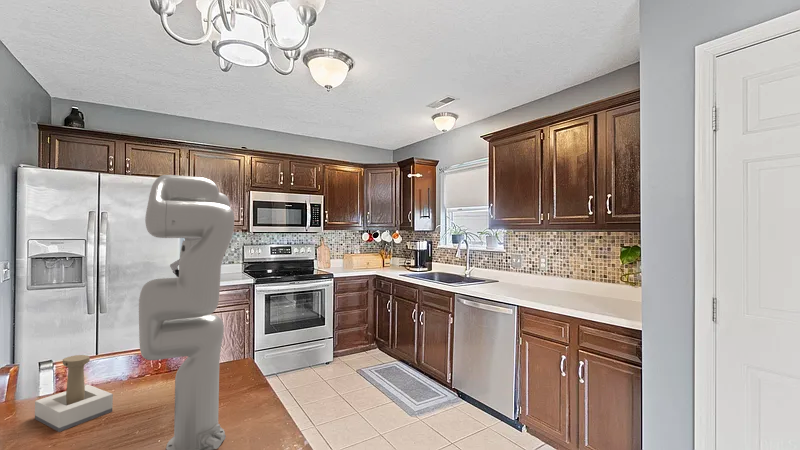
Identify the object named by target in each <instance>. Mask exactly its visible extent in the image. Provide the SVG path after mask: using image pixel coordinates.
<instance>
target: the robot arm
mask: <svg viewBox="0 0 800 450" xmlns="http://www.w3.org/2000/svg"><path fill="white" fill-rule="evenodd" d="M144 220H145V228H146V230H147V232H148V234H149V235H151V236H152V237H155V238H159V239H184V240H182V242H181V246H180V253H179V259H177V260H176V261H174V262H172V263H170V265H169V268H170V269H171V271H172V273H173V275H175V276H176V277H166V278H165V277H163V278H157V279H156V278H155V279H151V280H149V281H147V282H146V283H145V284H144V285H143V286H142V288H141V290H140V293H139V298H138V330H139V331H138V333H139V335H138V337H139V338H138V340H139V341H138V342H139V351H140V354H141V356H142V358H143V359H145V360H147V361H159V360H160V361H161V360H166V359H167V360H168V359H173V358H174V359H175V358H181V357H186V359H185V360H184V361H183V362H182V364H181V365H179V368H178V370H177V371H176V374H175V379H174V380H175V381H174V419H173V421H174V427H173V429H174V430H173V432H174V433H173V437H172V438H170V439H169V440H168V442H167V444H166V446H165V450H217V449H219V447H221V444H222V443H223V441H225V440H226V437H227V436H226V434H225V433H226V432H225V429H224V428H222V426H221V424H220V423H219V408H220V407H219V399H220V397H219V396H220V395H219V394H220V359H221V351H222V345H223V344H222V343H223V339H224V332H225V327H224V326H225V324H224V322H223V319H222V318H221V317H220V316H218V315H216V314H213V313H214V312H215V311H216V310H217V309H218V306H219V301H220V291H221V290H220V289H221V272H222V271H221V270H222V262H223V259H224V257H225V254H226V252H227V251H228V248H229V245H230V244H231V242H232V241H231V240H232V237H233V234H234V230H235V213H234V211H233V209H232V208H231V203H230V199H229V197H228V196H227V194H224V193H223V192H220V190H219V188H218V185H217V184H216V183H215V182H214V181H212V180H211V179H208V178H206V177H201V176H191V175H178V174H177V175H175V174H163V175H160V176H158V177H157V178H156V179H155V180H154V182H153V183H152V186H151V188H150V192H149V195H148V201H147V206H146V211H145V219H144Z"/></svg>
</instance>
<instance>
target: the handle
mask: <svg viewBox="0 0 800 450" xmlns="http://www.w3.org/2000/svg"><path fill="white" fill-rule="evenodd" d="M90 360H91V358H90V356H89V355H86V354H78V355H77V354H75V355H71V356H67V357H64V358H62V365H63V366H64V367H66V368H67V370H68V371H67V380H66V381H67V383H66V390H65V391H66V403H67V405H70V404H73V403H76V402H79V401H82V400H84V395H85V385H86V384H85V383H86V382H85V369H84V368H85V365H86V364H88V363H90V362H91V361H90Z"/></svg>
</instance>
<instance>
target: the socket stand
mask: <svg viewBox="0 0 800 450" xmlns="http://www.w3.org/2000/svg"><path fill="white" fill-rule="evenodd" d="M113 397H114V394H113V393H111V392H108V391H106V390H104V389H100V388H98V387H96V386H93V385H91V384H88V383H87V384H85V395H84V400H82V401H79V402H76V403H73V404H70V405H67V403H66V390H65V391H63V392H59V393H56V394H52V395H49V396H46V397H43V398H39V399H37V400H34V420H35V421H38V422H40V423H41V424H44V425H45V426H46V427H47V426H48V427H49V428H51V429H52V430H54V431H56V432H58V433H60V432H62V431H65V430H68V429H70V428H73V427H76V426H78V425H80V424H83V423H86V422H89V421H91V420H93V419H96V418H99V417H102V416H105V415H106V414H109V413H112V412H113V405H114V403H113V402H114V401H113V399H114V398H113Z"/></svg>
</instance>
